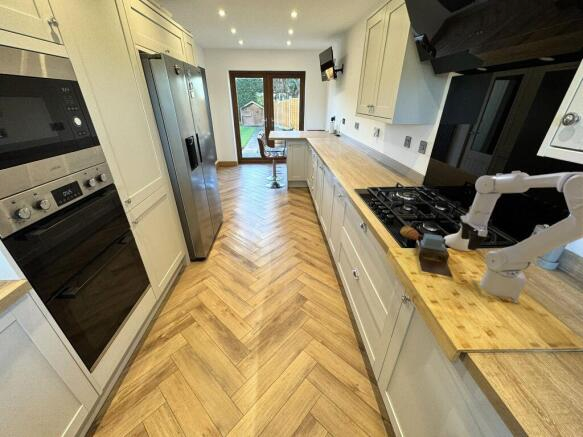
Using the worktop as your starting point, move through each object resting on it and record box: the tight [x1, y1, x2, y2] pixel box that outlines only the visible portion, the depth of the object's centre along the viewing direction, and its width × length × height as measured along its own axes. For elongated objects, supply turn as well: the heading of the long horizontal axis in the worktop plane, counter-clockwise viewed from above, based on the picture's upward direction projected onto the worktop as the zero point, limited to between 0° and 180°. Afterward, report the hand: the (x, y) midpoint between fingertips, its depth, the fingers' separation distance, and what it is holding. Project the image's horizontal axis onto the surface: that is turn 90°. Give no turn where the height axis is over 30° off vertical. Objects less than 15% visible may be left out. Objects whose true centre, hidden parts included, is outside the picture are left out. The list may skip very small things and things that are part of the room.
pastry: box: [399, 225, 421, 241], centre depth 108 cm, size 9×7×4 cm
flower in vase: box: [443, 205, 472, 252], centre depth 97 cm, size 13×11×25 cm
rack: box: [414, 234, 454, 278], centre depth 90 cm, size 10×18×6 cm, turn 161°
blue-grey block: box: [421, 233, 447, 251], centre depth 92 cm, size 8×4×4 cm, turn 71°
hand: (467, 243), depth 86 cm, fingers open, 7 cm apart
